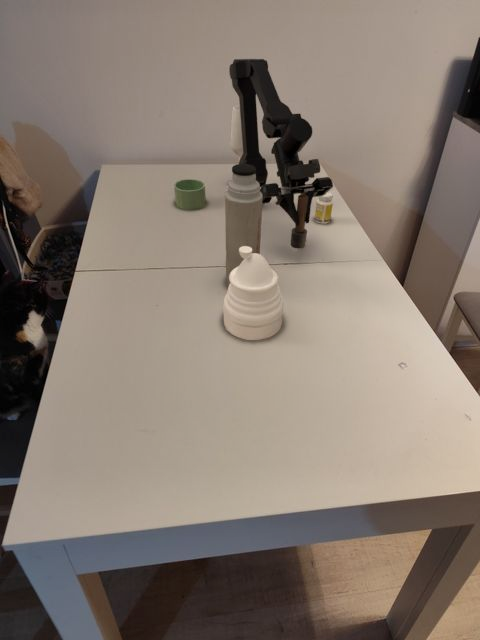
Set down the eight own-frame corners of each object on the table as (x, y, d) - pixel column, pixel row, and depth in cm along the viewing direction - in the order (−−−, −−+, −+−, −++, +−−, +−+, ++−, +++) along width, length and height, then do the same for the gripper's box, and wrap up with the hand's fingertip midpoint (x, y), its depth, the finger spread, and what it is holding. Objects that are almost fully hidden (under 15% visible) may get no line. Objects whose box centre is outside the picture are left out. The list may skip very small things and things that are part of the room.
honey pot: (230, 344, 92) (229, 269, 80) (218, 307, 101) (216, 235, 89) (289, 335, 95) (297, 262, 83) (272, 300, 104) (277, 230, 92)
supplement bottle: (329, 217, 138) (334, 191, 132) (330, 224, 134) (334, 197, 129) (314, 216, 138) (317, 189, 133) (314, 223, 135) (317, 196, 129)
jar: (181, 195, 145) (180, 177, 141) (209, 199, 144) (208, 181, 140) (171, 207, 138) (169, 188, 134) (200, 211, 137) (199, 192, 133)
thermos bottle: (261, 276, 112) (267, 162, 93) (254, 294, 106) (259, 176, 87) (230, 272, 113) (230, 158, 94) (222, 289, 107) (220, 171, 88)
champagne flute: (228, 181, 156) (226, 105, 139) (246, 179, 157) (247, 104, 141) (233, 189, 151) (232, 111, 135) (252, 187, 153) (253, 110, 136)
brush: (291, 240, 117) (296, 192, 109) (306, 242, 117) (312, 194, 108) (288, 247, 115) (293, 198, 106) (304, 249, 114) (310, 200, 105)
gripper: (263, 149, 100) (279, 217, 100) (335, 143, 106) (351, 206, 106) (249, 172, 110) (264, 233, 110) (316, 165, 116) (330, 223, 116)
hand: (302, 223), depth 110 cm, fingers closed on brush, 2 cm apart
